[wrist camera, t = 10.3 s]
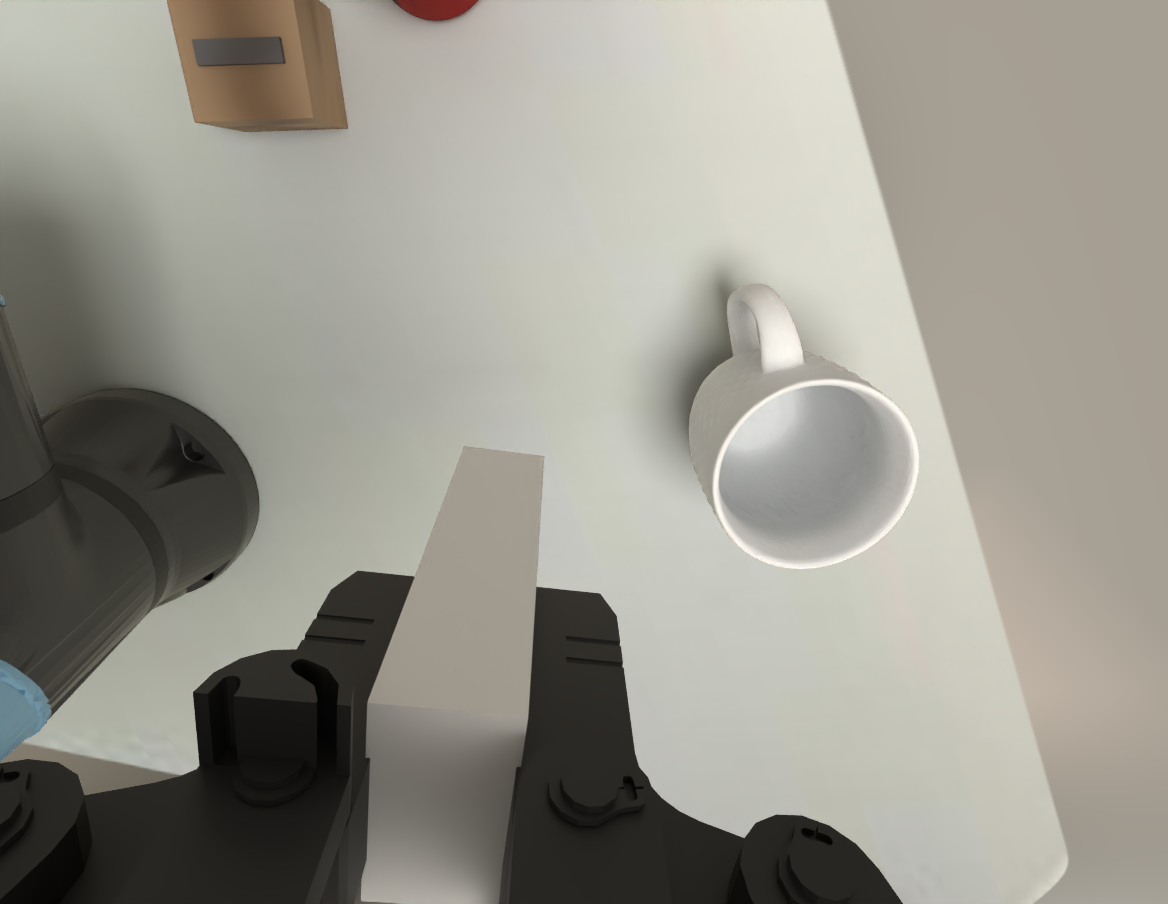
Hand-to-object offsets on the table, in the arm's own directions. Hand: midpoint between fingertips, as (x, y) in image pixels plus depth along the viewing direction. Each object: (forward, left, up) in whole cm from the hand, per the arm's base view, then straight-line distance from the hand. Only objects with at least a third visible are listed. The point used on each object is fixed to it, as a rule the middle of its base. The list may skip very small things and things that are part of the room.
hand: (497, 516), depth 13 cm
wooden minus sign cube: (-16, +10, -33) cm, 38 cm away
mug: (+15, -5, -33) cm, 36 cm away
